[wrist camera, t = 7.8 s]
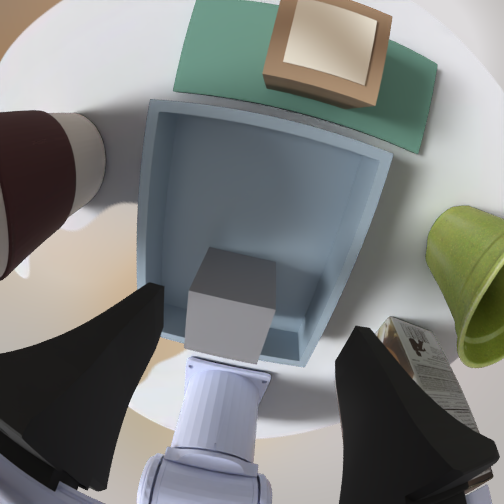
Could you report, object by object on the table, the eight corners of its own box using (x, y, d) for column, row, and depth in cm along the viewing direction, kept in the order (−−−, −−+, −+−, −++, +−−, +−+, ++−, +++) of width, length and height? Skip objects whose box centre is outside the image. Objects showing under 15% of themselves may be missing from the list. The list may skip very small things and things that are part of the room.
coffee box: (379, 388, 25) (404, 521, 11) (331, 378, 24) (345, 534, 10) (435, 330, 21) (496, 477, 7) (388, 313, 20) (451, 500, 6)
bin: (302, 335, 22) (304, 367, 19) (155, 302, 21) (139, 330, 18) (371, 146, 15) (393, 153, 12) (173, 101, 14) (150, 99, 11)
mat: (412, 152, 15) (417, 154, 14) (177, 92, 14) (172, 91, 13) (431, 65, 12) (437, 64, 11) (200, 2, 11) (197, -3, 10)
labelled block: (345, 109, 13) (376, 106, 9) (266, 88, 13) (262, 73, 9) (359, 42, 11) (393, 15, 7) (282, 20, 11) (285, -18, 7)
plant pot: (380, 254, 18) (432, 340, 10) (457, 154, 14) (547, 192, 6) (442, 308, 20) (485, 380, 12) (506, 230, 16) (568, 282, 8)
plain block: (261, 313, 20) (256, 364, 16) (201, 300, 20) (184, 348, 16) (276, 261, 18) (275, 309, 14) (209, 246, 18) (188, 290, 14)
